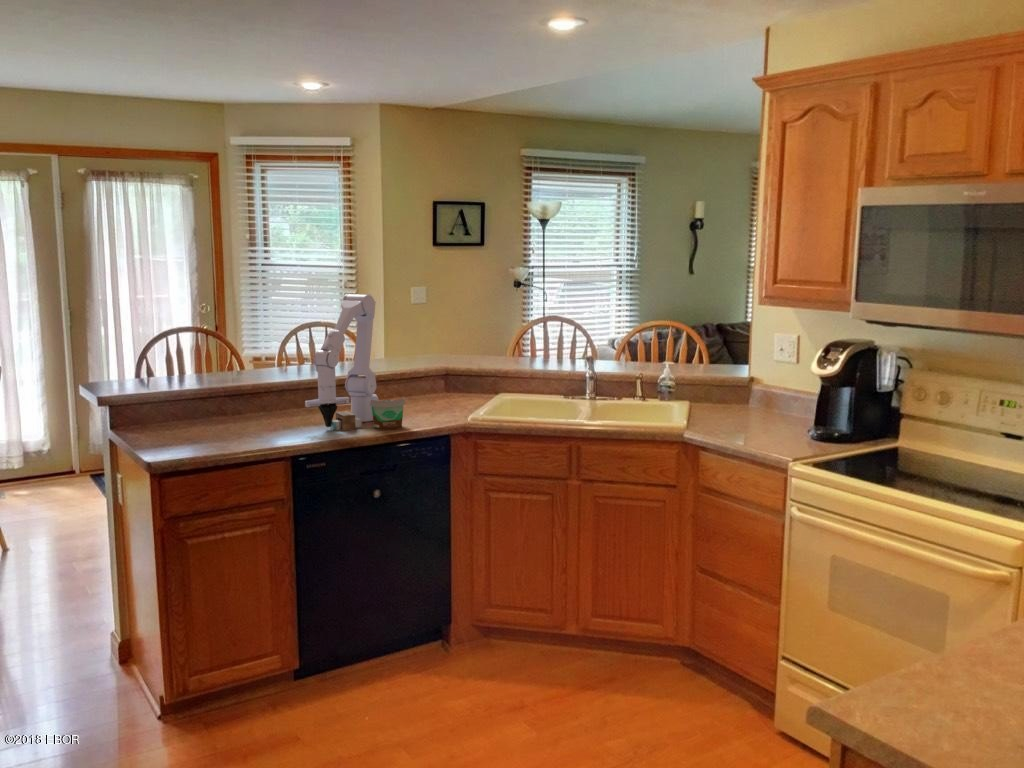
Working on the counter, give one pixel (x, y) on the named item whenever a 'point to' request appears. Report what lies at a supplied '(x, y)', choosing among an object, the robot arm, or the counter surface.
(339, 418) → the angled brown block
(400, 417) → the food container
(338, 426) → the white teal bar
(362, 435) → the counter surface
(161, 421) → the counter surface
